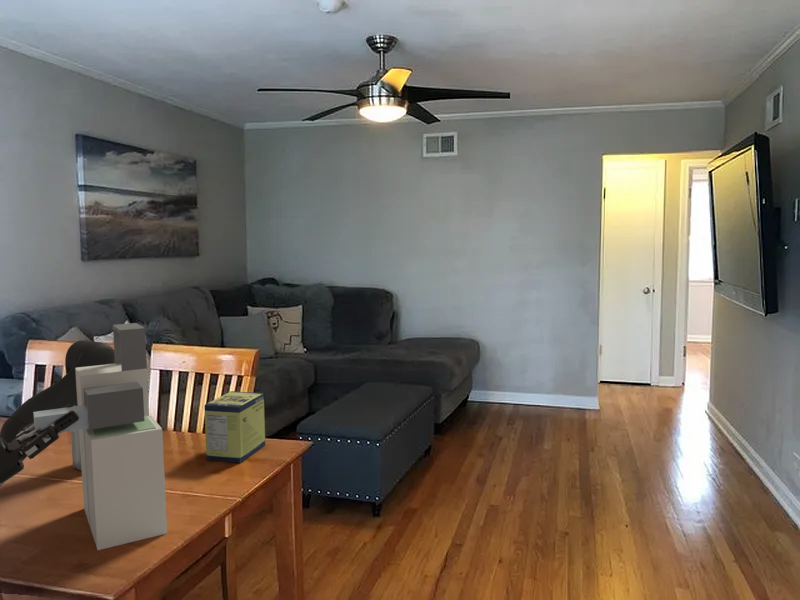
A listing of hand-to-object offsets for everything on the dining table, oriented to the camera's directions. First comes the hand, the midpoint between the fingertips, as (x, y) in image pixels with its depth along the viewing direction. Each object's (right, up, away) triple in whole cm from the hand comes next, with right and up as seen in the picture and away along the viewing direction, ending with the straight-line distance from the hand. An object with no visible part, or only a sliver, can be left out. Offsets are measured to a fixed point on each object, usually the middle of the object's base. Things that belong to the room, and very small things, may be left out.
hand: (74, 411), depth 125 cm
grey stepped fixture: (+4, -25, +12) cm, 29 cm away
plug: (+2, -3, +2) cm, 4 cm away
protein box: (+18, -21, +54) cm, 61 cm away
